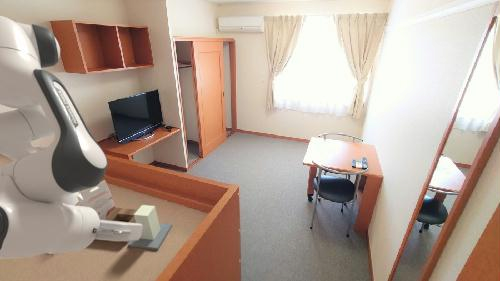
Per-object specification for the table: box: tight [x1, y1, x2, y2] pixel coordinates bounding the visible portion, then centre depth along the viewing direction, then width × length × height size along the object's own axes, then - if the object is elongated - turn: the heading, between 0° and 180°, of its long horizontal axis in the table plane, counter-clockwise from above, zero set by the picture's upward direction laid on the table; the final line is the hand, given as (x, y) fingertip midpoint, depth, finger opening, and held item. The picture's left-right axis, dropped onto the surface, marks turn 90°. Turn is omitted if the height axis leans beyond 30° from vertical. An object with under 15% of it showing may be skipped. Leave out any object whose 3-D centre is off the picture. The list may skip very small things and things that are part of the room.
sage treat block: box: [134, 204, 160, 240], centre depth 74 cm, size 4×4×10 cm
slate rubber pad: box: [127, 222, 173, 251], centre depth 77 cm, size 10×10×1 cm
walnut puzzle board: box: [94, 207, 138, 244], centre depth 80 cm, size 12×12×3 cm
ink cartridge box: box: [77, 179, 116, 220], centre depth 82 cm, size 9×5×15 cm, turn 148°
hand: (117, 228), depth 60 cm, fingers open, 8 cm apart
